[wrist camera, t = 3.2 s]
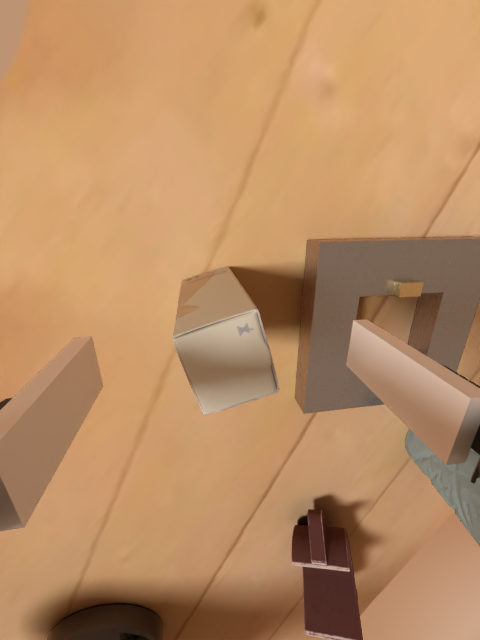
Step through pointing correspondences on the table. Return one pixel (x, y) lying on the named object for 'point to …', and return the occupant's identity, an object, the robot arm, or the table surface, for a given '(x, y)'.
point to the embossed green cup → (451, 482)
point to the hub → (377, 280)
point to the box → (222, 342)
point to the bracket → (326, 579)
